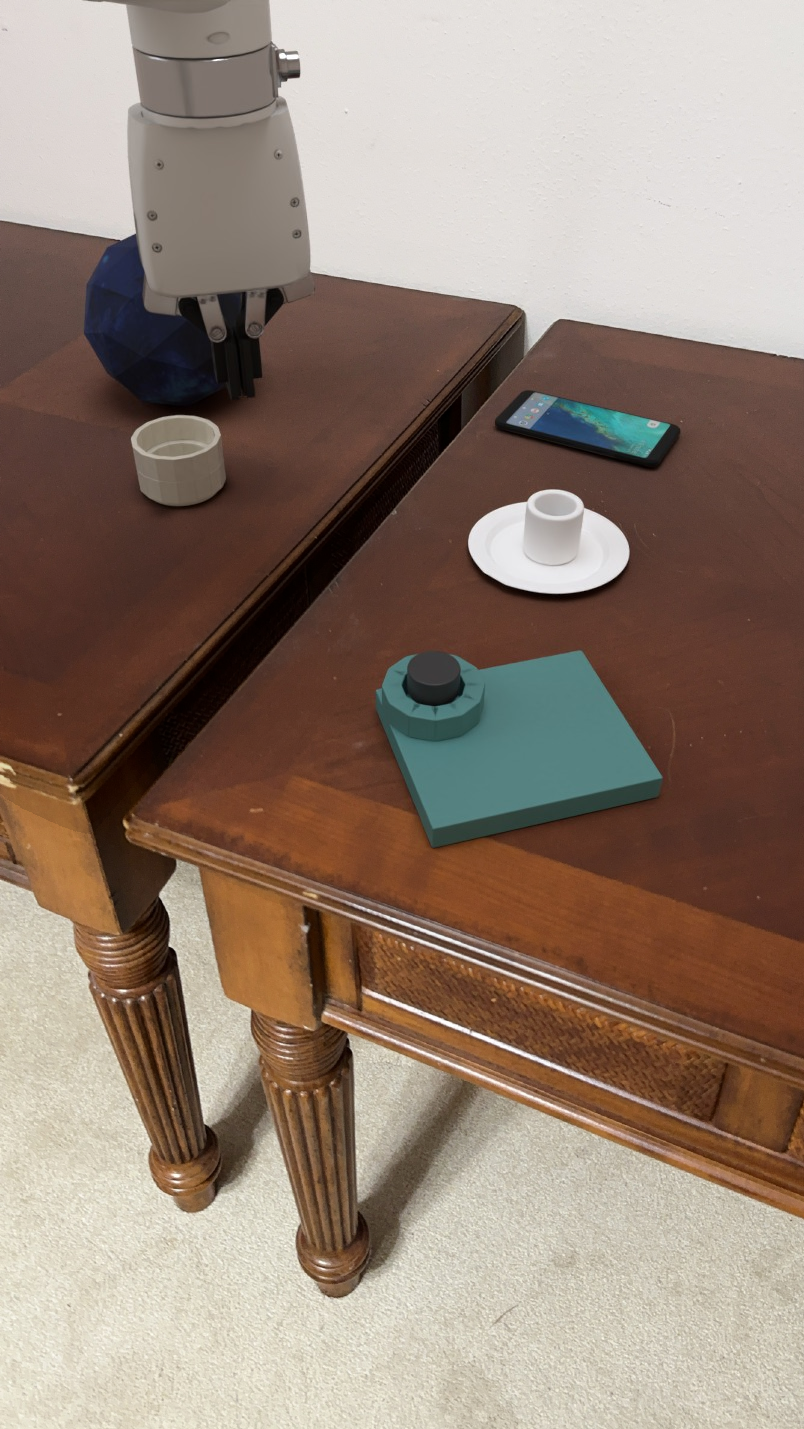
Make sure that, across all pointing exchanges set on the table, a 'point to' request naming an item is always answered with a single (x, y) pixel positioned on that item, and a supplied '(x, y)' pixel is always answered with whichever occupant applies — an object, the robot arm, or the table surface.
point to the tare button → (433, 678)
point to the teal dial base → (514, 748)
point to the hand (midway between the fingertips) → (240, 388)
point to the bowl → (179, 459)
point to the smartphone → (589, 427)
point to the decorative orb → (147, 334)
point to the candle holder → (549, 545)
